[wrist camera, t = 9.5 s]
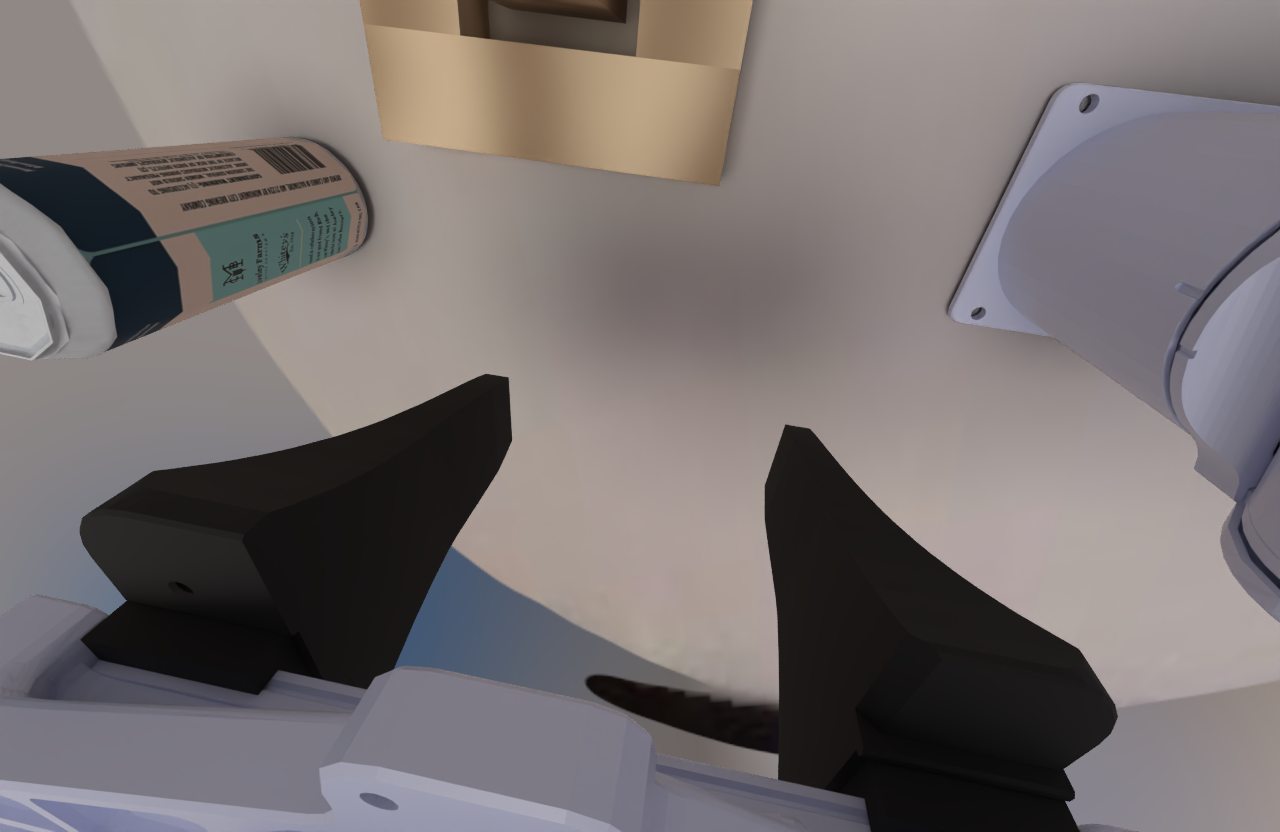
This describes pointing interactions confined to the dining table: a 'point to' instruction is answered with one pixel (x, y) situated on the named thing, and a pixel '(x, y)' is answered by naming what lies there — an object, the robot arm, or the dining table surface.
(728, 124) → the oak socket block
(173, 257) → the beer can
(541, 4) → the walnut peg
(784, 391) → the dining table surface
